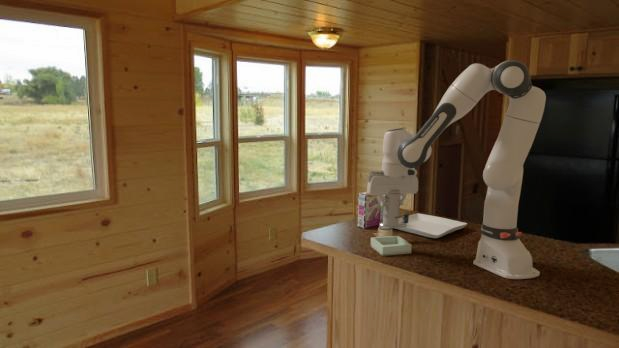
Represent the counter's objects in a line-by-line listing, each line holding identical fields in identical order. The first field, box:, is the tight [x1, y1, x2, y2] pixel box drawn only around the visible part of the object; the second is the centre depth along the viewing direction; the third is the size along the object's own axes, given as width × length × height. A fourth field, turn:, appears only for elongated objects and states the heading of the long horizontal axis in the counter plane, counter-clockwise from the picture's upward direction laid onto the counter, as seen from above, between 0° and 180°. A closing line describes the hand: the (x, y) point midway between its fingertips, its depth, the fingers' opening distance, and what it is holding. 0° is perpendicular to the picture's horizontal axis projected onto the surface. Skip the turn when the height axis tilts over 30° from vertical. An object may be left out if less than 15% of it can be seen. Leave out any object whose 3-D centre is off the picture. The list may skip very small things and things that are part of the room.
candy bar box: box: [356, 191, 381, 230], centre depth 201 cm, size 11×5×16 cm, turn 130°
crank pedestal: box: [372, 227, 394, 237], centre depth 183 cm, size 14×6×6 cm, turn 14°
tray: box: [370, 235, 412, 257], centre depth 169 cm, size 12×12×4 cm
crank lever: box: [378, 212, 410, 230], centre depth 179 cm, size 13×5×6 cm, turn 102°
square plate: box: [393, 212, 468, 239], centre depth 197 cm, size 27×27×4 cm
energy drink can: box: [382, 190, 402, 229], centre depth 167 cm, size 6×6×15 cm
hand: (391, 205), depth 167 cm, fingers closed on energy drink can, 6 cm apart
